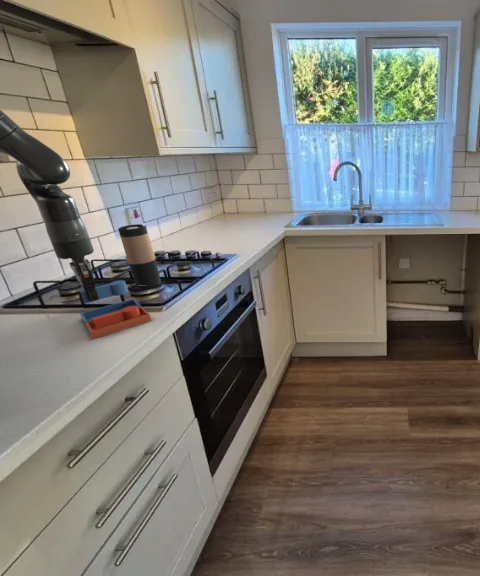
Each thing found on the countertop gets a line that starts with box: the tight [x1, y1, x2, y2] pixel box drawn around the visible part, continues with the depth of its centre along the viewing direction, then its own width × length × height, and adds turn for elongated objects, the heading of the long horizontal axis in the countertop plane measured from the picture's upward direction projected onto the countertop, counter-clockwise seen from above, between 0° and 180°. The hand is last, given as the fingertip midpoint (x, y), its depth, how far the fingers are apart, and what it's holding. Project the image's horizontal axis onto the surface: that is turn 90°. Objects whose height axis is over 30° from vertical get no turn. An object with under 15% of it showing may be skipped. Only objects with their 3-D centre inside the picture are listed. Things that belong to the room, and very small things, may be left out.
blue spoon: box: [79, 279, 129, 304], centre depth 99 cm, size 10×4×3 cm, turn 136°
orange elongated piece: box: [92, 306, 141, 329], centre depth 96 cm, size 10×4×3 cm, turn 136°
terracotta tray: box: [85, 305, 152, 339], centre depth 96 cm, size 13×8×2 cm, turn 136°
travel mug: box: [117, 223, 162, 290], centre depth 119 cm, size 8×8×20 cm
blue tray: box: [80, 298, 142, 328], centre depth 102 cm, size 13×8×2 cm, turn 136°
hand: (93, 299), depth 98 cm, fingers closed on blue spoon, 1 cm apart
